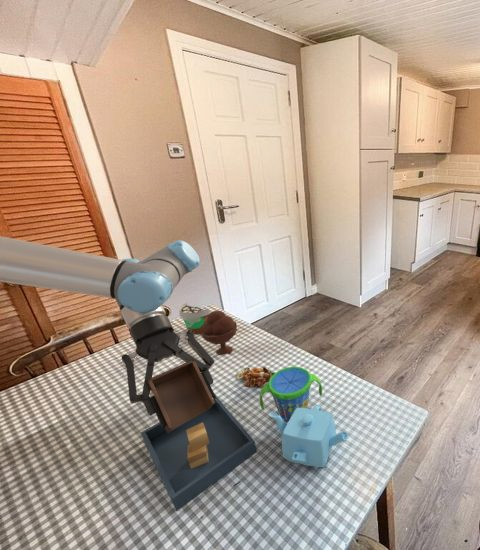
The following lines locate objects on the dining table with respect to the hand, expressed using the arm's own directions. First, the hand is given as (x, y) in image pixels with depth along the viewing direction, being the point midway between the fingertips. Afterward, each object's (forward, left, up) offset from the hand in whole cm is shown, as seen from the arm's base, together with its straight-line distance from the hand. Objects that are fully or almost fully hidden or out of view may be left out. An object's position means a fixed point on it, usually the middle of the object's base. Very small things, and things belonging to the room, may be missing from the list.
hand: (190, 412), depth 65 cm
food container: (-53, +18, -12) cm, 57 cm away
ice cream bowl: (-33, +20, -12) cm, 41 cm away
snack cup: (+6, +21, -12) cm, 25 cm away
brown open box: (-7, 0, -1) cm, 7 cm away
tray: (-1, 0, -12) cm, 12 cm away
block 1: (+3, 0, -6) cm, 7 cm away
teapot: (+19, +16, -12) cm, 27 cm away
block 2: (+2, -1, -8) cm, 8 cm away
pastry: (-13, +20, -12) cm, 27 cm away
